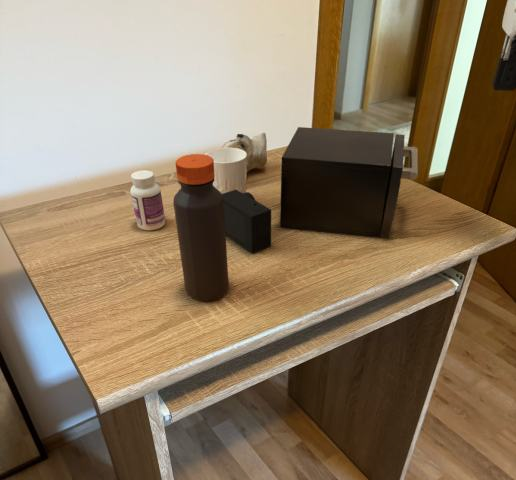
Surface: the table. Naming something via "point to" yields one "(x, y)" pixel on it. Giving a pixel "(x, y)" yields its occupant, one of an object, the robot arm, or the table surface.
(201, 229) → the vinegar
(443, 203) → the table surface
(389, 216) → the oven door
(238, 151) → the white cup
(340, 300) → the table surface
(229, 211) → the digital camera
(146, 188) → the pill bottle
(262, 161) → the ceramic sculpture
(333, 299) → the table surface
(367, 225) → the oven
